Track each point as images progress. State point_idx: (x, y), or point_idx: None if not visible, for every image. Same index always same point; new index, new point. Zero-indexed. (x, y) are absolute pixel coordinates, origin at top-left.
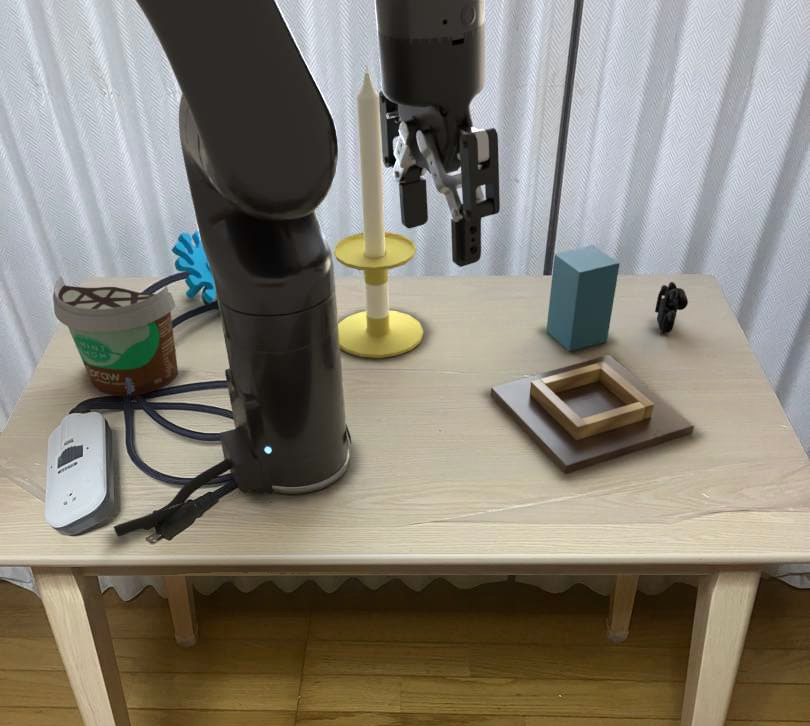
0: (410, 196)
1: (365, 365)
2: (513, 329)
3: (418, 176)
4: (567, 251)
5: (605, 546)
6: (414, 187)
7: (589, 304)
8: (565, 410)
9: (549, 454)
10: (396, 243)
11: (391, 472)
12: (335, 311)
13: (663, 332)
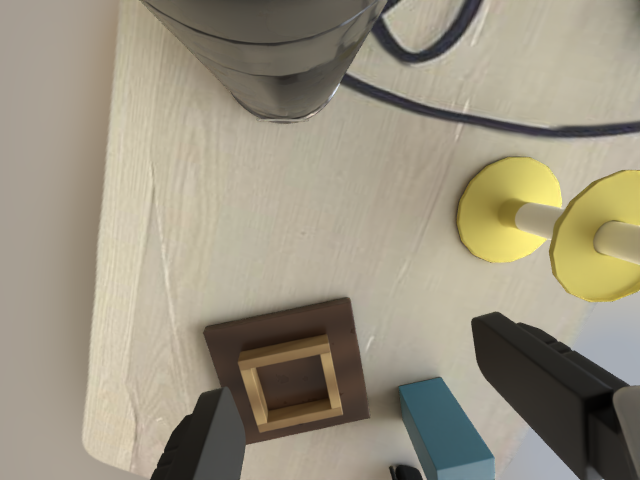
0: (539, 390)
1: (451, 182)
2: (457, 349)
3: (609, 476)
4: (492, 471)
5: (100, 327)
6: (565, 427)
7: (418, 441)
8: (268, 359)
9: (233, 322)
10: (622, 277)
11: (242, 165)
12: (207, 51)
13: (390, 468)
